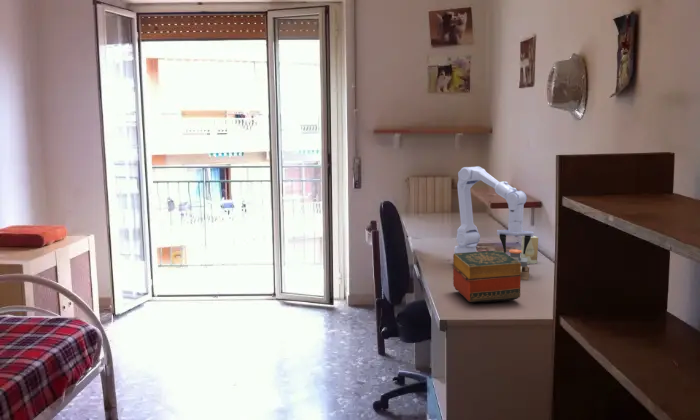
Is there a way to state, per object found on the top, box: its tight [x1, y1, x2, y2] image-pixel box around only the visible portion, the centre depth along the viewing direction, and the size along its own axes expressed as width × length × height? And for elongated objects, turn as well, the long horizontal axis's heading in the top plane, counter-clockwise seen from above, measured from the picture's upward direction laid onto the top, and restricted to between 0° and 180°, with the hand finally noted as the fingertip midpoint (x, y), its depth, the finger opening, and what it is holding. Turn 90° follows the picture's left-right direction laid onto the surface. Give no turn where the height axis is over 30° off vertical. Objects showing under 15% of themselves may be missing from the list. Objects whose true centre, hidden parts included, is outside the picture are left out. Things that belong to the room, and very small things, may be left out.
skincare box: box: [520, 235, 539, 265], centre depth 275 cm, size 6×4×12 cm
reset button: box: [508, 248, 522, 261], centre depth 260 cm, size 5×5×5 cm
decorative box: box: [452, 249, 522, 303], centre depth 219 cm, size 20×22×16 cm
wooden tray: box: [520, 265, 530, 281], centre depth 253 cm, size 21×11×4 cm, turn 73°
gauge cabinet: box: [518, 257, 528, 267], centre depth 261 cm, size 10×8×5 cm
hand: (514, 253), depth 251 cm, fingers open, 7 cm apart
